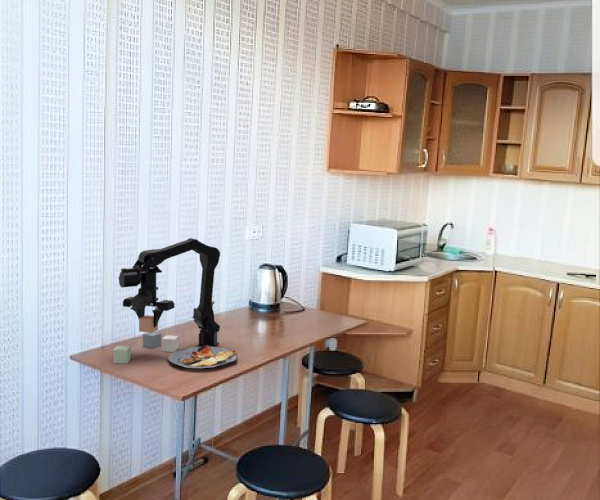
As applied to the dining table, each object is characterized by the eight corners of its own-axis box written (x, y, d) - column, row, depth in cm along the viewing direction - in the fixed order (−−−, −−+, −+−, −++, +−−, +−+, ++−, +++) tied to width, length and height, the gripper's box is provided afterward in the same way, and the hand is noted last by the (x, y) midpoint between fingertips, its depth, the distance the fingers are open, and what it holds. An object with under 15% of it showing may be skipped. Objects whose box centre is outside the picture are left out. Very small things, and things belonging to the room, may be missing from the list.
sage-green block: (130, 359, 227) (130, 346, 226) (127, 363, 222) (127, 350, 221) (116, 359, 227) (116, 345, 226) (113, 363, 222) (113, 349, 221)
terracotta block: (158, 329, 233) (158, 316, 232) (151, 332, 228) (151, 319, 227) (146, 328, 234) (146, 315, 234) (139, 331, 229) (139, 318, 229)
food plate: (207, 347, 244) (207, 338, 243) (250, 360, 229) (250, 351, 229) (155, 363, 225) (155, 353, 224) (198, 378, 210) (198, 368, 210)
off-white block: (178, 348, 242) (178, 336, 241) (174, 352, 237) (174, 339, 236) (165, 347, 242) (165, 335, 242) (161, 351, 238) (161, 338, 237)
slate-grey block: (161, 345, 245) (161, 333, 245) (152, 348, 241) (152, 336, 240) (151, 343, 248) (151, 331, 247) (142, 346, 243) (142, 334, 243)
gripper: (113, 286, 224) (114, 328, 226) (159, 291, 219) (159, 334, 221) (130, 281, 235) (131, 322, 237) (175, 285, 229) (175, 326, 231)
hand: (148, 326), depth 231 cm, fingers closed on terracotta block, 5 cm apart
